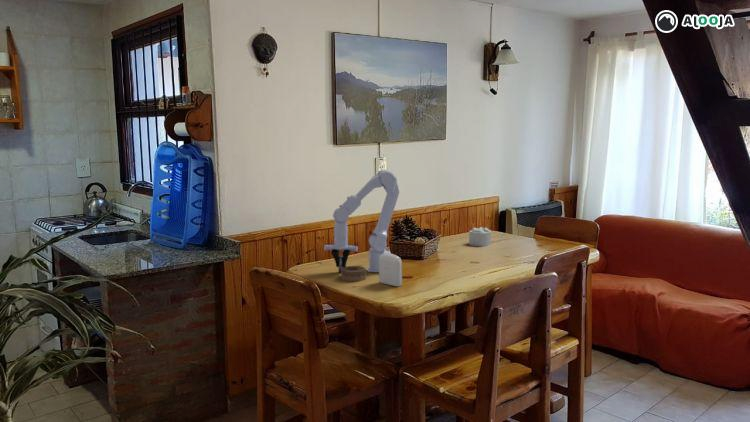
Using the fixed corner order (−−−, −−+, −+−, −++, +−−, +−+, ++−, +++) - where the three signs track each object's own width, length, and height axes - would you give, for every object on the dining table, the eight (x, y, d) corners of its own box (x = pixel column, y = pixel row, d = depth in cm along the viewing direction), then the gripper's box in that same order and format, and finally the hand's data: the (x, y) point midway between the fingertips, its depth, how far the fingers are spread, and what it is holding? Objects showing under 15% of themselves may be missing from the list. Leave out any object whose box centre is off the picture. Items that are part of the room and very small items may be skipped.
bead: (367, 275, 248) (367, 266, 247) (362, 281, 238) (362, 272, 237) (344, 274, 250) (344, 265, 249) (339, 280, 240) (338, 271, 239)
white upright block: (377, 282, 237) (377, 252, 235) (384, 280, 240) (384, 251, 238) (396, 287, 230) (396, 256, 228) (403, 285, 233) (403, 255, 231)
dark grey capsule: (344, 271, 255) (344, 255, 254) (343, 272, 252) (343, 257, 251) (339, 271, 255) (339, 255, 254) (337, 272, 253) (337, 256, 252)
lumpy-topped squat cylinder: (466, 244, 313) (466, 228, 312) (477, 240, 323) (477, 225, 322) (484, 247, 307) (484, 230, 306) (494, 243, 317) (495, 227, 316)
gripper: (322, 237, 249) (322, 268, 251) (355, 238, 246) (355, 269, 248) (326, 234, 256) (326, 264, 258) (358, 235, 253) (358, 265, 255)
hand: (341, 266), depth 254 cm, fingers closed on dark grey capsule, 2 cm apart
